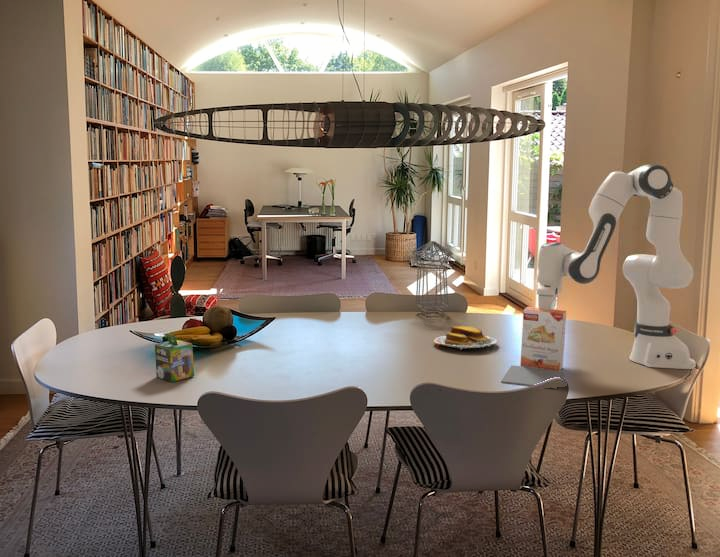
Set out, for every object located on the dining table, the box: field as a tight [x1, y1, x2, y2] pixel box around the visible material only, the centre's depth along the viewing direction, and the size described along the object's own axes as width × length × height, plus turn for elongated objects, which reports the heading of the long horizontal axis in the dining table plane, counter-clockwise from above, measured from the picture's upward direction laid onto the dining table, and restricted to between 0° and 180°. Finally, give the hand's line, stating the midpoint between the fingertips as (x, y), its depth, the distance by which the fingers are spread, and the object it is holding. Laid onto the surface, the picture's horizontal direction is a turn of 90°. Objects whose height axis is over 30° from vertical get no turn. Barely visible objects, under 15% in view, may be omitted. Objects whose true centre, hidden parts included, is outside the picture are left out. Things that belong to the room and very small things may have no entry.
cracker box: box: [520, 306, 567, 371], centre depth 256 cm, size 14×6×21 cm, turn 62°
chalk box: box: [154, 333, 195, 383], centre depth 241 cm, size 9×9×15 cm
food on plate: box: [432, 325, 499, 350], centre depth 287 cm, size 26×25×7 cm
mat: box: [501, 364, 565, 387], centre depth 245 cm, size 18×20×1 cm
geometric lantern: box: [411, 240, 454, 318], centre depth 340 cm, size 16×16×35 cm
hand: (546, 324), depth 265 cm, fingers closed
